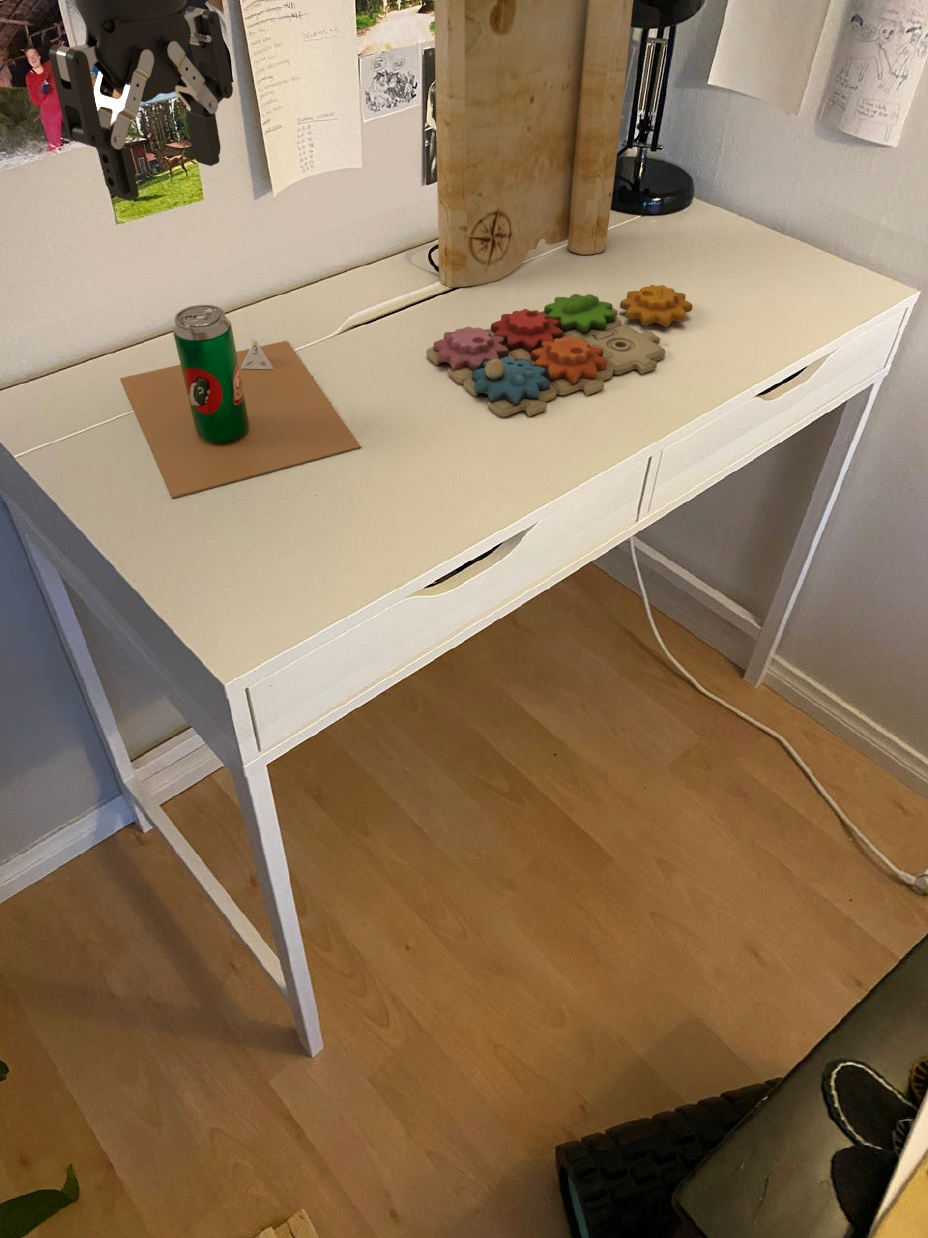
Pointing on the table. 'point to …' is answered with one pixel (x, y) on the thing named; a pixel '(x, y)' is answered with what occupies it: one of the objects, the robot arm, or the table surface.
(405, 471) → the table surface
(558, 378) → the gear puzzle
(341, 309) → the table surface
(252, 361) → the tetrahedral die
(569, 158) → the parchment
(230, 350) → the soda can
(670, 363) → the table surface
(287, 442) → the kraft paper
